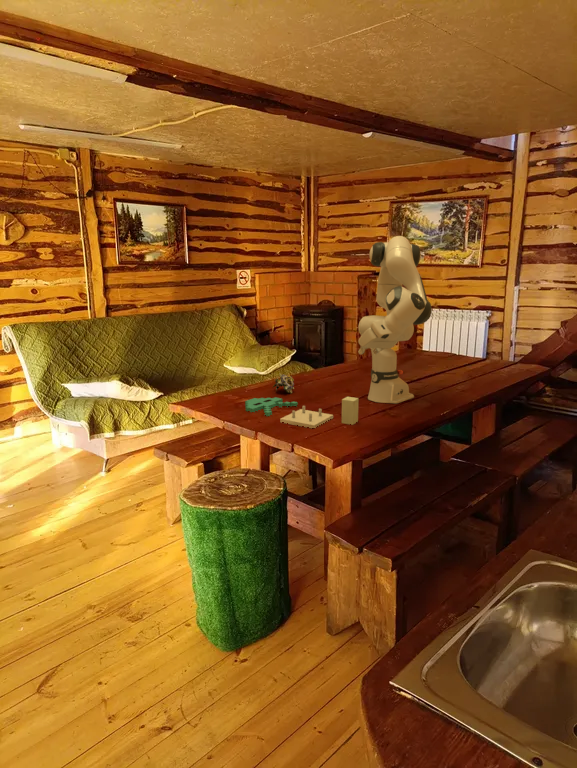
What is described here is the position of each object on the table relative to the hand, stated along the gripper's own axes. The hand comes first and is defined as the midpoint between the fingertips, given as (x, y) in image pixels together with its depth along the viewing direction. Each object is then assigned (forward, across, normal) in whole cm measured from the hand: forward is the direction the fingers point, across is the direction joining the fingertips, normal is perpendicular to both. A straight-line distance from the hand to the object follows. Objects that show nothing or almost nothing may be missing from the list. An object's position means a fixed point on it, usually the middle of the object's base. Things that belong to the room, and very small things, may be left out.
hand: (367, 352), depth 216 cm
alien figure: (+55, +7, -14) cm, 57 cm away
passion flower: (+61, -16, -25) cm, 68 cm away
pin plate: (+37, +8, +6) cm, 38 cm away
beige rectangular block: (+26, -2, +15) cm, 30 cm away
